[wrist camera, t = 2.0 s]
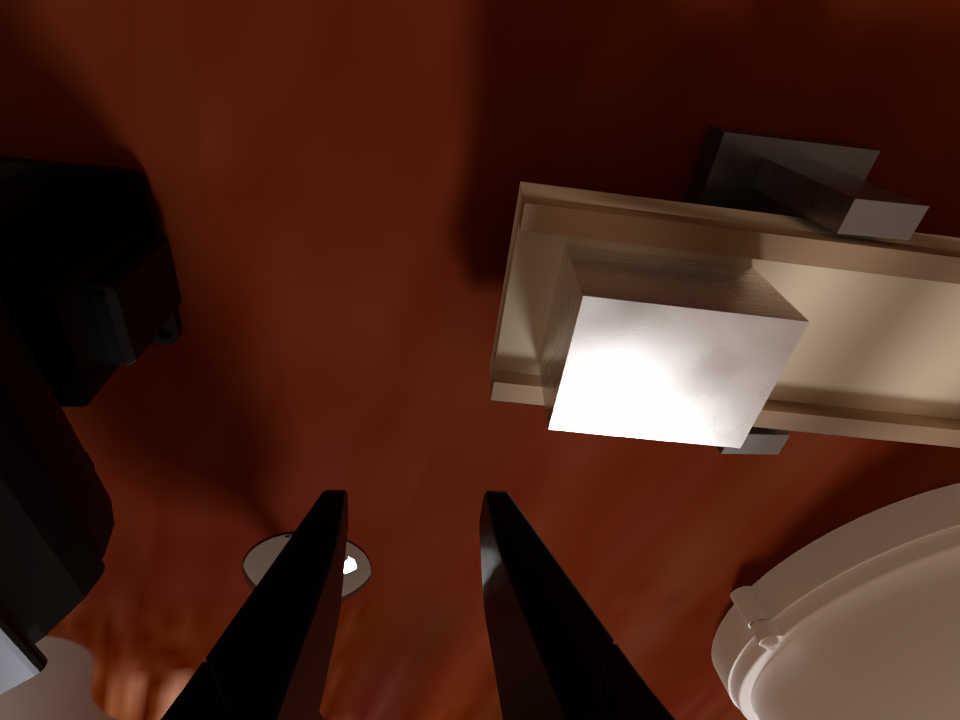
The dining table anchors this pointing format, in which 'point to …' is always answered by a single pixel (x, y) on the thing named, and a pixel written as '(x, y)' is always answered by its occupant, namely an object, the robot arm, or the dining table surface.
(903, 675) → the dome cover
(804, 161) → the pivot stand
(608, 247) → the beam
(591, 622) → the robot arm
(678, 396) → the steel block
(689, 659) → the dining table surface
